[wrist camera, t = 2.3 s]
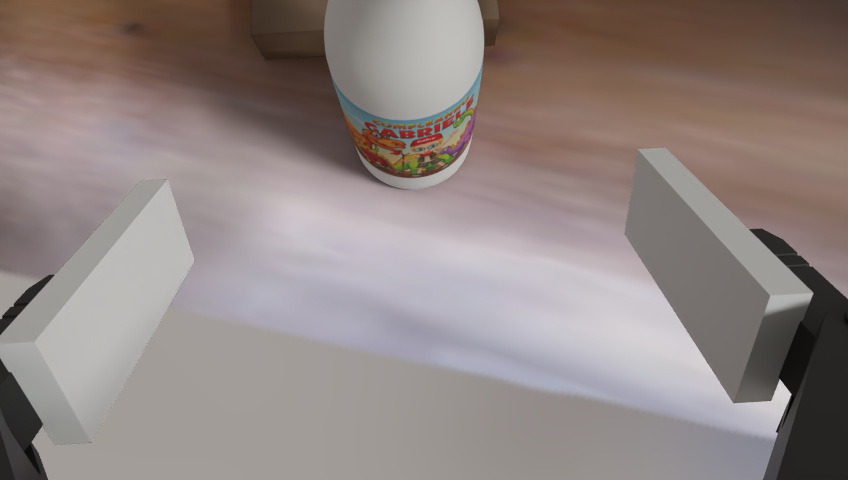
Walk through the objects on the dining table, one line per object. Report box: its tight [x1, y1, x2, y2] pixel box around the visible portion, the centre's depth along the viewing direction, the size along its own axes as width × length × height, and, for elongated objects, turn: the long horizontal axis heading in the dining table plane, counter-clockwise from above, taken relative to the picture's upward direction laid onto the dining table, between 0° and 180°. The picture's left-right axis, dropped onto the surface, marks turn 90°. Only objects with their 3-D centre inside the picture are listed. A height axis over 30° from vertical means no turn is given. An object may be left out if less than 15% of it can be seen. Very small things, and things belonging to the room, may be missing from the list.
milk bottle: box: [324, 0, 484, 189], centre depth 28 cm, size 8×8×20 cm
